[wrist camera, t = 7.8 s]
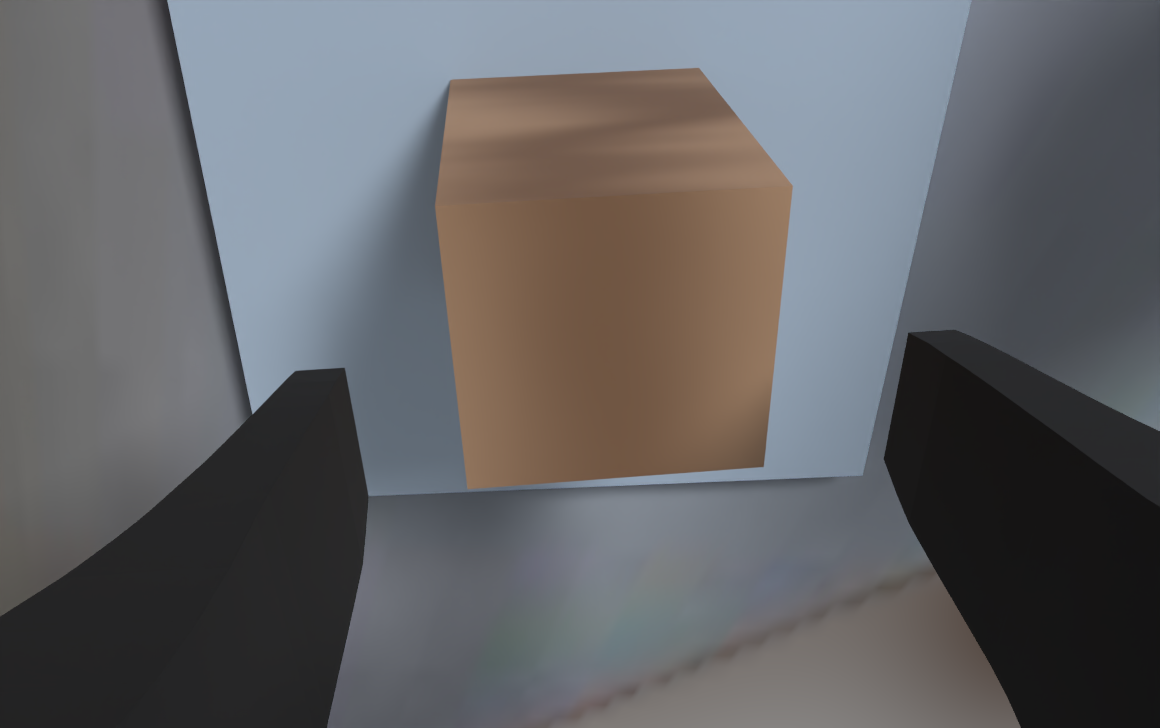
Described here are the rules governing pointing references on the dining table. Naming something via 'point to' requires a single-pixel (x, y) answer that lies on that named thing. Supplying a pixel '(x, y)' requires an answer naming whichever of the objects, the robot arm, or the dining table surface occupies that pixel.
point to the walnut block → (608, 276)
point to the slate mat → (411, 169)
